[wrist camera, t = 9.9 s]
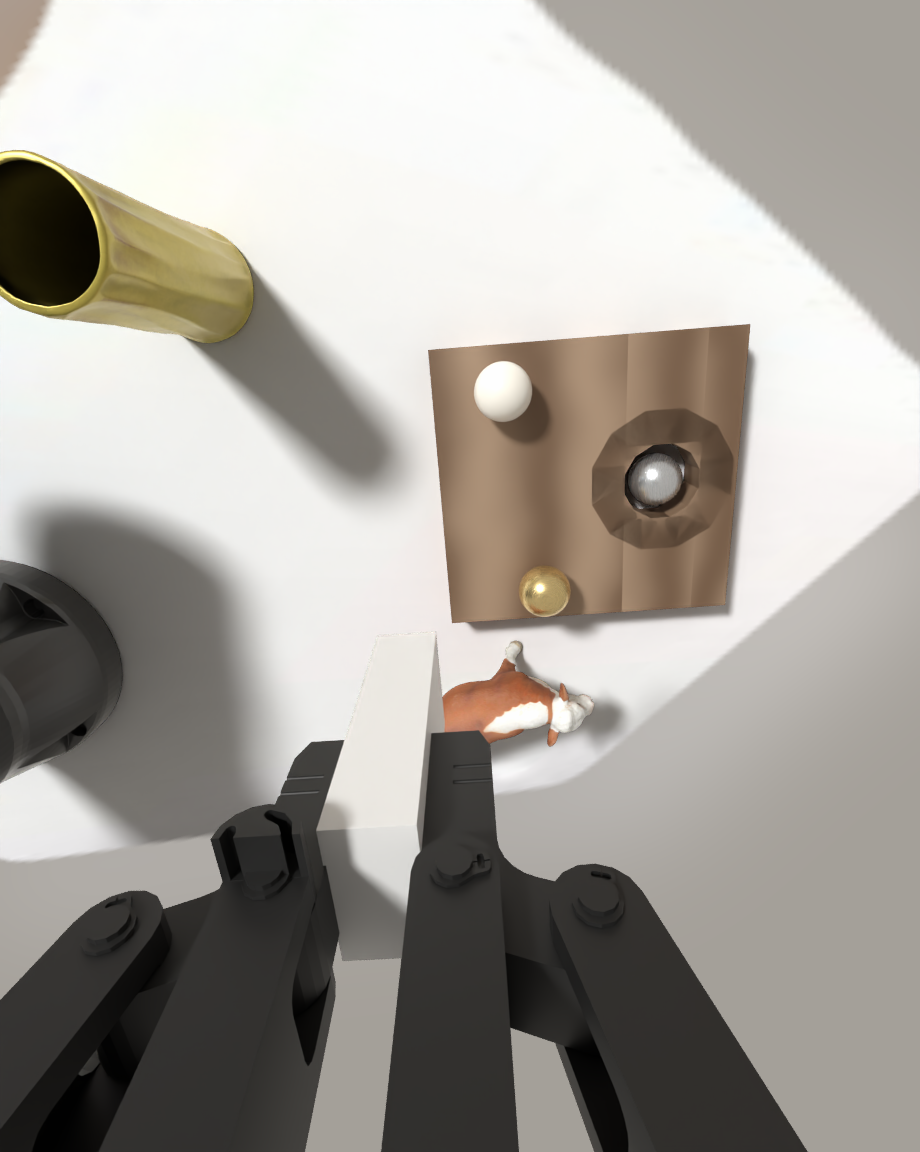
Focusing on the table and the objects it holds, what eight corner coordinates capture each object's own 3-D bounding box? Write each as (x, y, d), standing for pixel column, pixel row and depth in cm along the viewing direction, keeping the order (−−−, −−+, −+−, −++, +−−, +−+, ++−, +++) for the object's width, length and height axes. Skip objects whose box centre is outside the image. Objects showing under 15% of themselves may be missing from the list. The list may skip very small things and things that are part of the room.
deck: (452, 608, 41) (452, 623, 38) (430, 351, 35) (428, 350, 33) (709, 590, 40) (725, 605, 38) (730, 326, 34) (750, 324, 32)
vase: (128, 282, 34) (-91, 229, 20) (194, 201, 32) (5, 85, 19) (210, 365, 35) (55, 365, 22) (276, 290, 34) (155, 242, 21)
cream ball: (475, 421, 34) (476, 426, 31) (471, 363, 33) (472, 363, 30) (529, 417, 34) (536, 422, 31) (527, 359, 33) (534, 358, 30)
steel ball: (621, 509, 36) (675, 511, 35) (622, 457, 35) (678, 458, 33) (634, 497, 39) (685, 499, 37) (636, 449, 38) (688, 449, 36)
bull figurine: (581, 674, 43) (607, 742, 35) (410, 722, 44) (399, 797, 36) (566, 623, 41) (590, 682, 34) (390, 674, 43) (374, 742, 35)
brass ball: (517, 606, 38) (522, 627, 35) (515, 560, 37) (520, 577, 34) (566, 603, 38) (575, 623, 35) (565, 556, 37) (574, 573, 34)
